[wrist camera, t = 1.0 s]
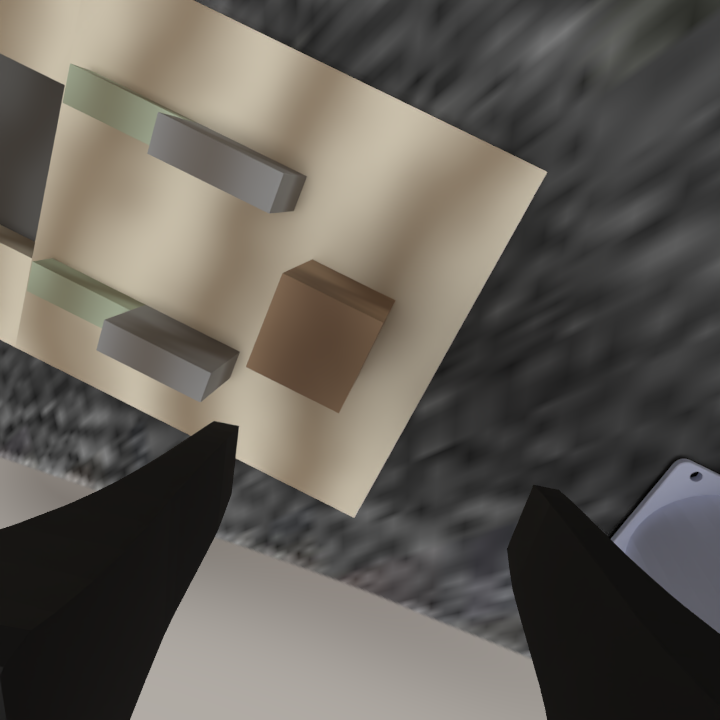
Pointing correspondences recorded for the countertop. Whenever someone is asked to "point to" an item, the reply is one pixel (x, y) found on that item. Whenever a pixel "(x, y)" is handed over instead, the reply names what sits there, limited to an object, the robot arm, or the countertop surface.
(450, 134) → the board
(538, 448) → the countertop surface
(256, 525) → the countertop surface
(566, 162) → the countertop surface
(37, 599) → the robot arm
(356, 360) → the walnut block
